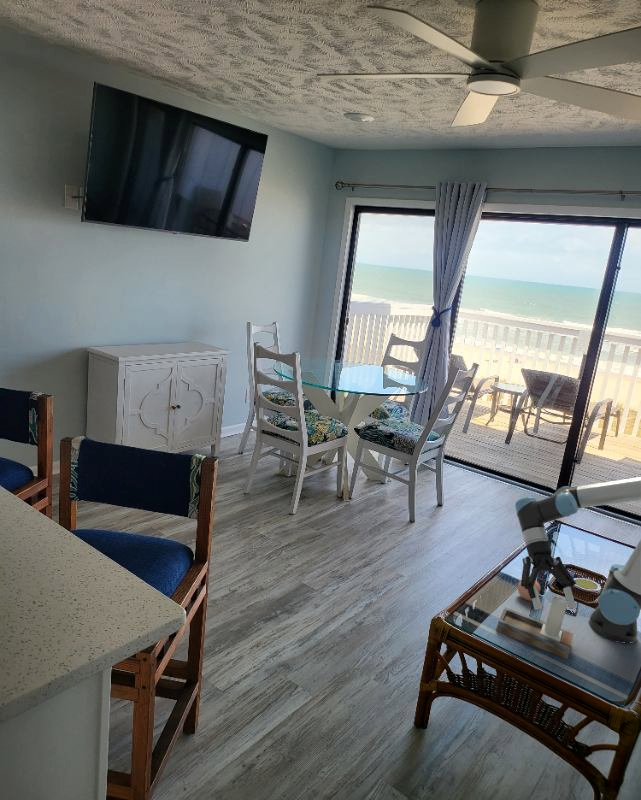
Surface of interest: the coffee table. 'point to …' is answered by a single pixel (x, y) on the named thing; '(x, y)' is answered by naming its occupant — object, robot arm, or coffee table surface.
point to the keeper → (554, 620)
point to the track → (533, 632)
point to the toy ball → (524, 592)
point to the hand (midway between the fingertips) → (555, 608)
